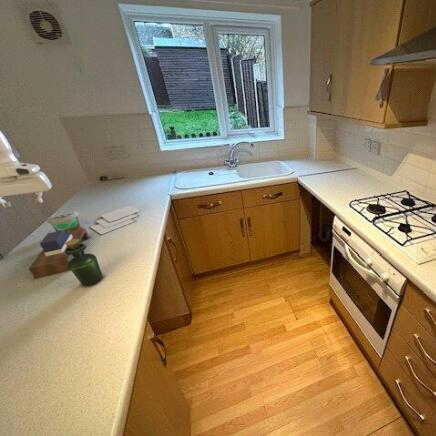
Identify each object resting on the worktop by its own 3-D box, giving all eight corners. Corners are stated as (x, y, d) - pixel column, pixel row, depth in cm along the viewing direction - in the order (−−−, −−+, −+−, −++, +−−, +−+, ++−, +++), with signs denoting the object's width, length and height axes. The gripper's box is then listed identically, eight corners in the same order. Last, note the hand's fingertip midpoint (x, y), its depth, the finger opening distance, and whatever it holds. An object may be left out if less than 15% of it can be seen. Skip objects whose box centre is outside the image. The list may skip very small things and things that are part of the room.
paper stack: (149, 215, 140) (149, 214, 140) (101, 234, 122) (100, 233, 122) (130, 206, 152) (129, 205, 152) (83, 222, 134) (82, 221, 134)
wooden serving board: (35, 278, 94) (28, 268, 92) (59, 242, 116) (54, 234, 114) (73, 269, 98) (67, 259, 96) (89, 236, 121) (85, 228, 118)
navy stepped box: (62, 252, 100) (56, 240, 98) (46, 256, 98) (38, 244, 96) (72, 236, 112) (66, 225, 109) (57, 239, 110) (51, 228, 107)
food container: (54, 240, 119) (44, 222, 114) (54, 235, 123) (45, 217, 118) (85, 231, 125) (76, 214, 121) (84, 227, 130) (76, 210, 125)
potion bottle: (107, 280, 92) (87, 242, 84) (80, 291, 87) (57, 251, 79) (103, 270, 97) (84, 233, 89) (78, 280, 92) (56, 241, 84)
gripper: (-42, 176, 81) (-18, 212, 87) (37, 169, 89) (54, 203, 95) (-30, 171, 86) (-8, 206, 92) (43, 164, 94) (59, 197, 100)
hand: (24, 204), depth 94 cm, fingers open, 8 cm apart
